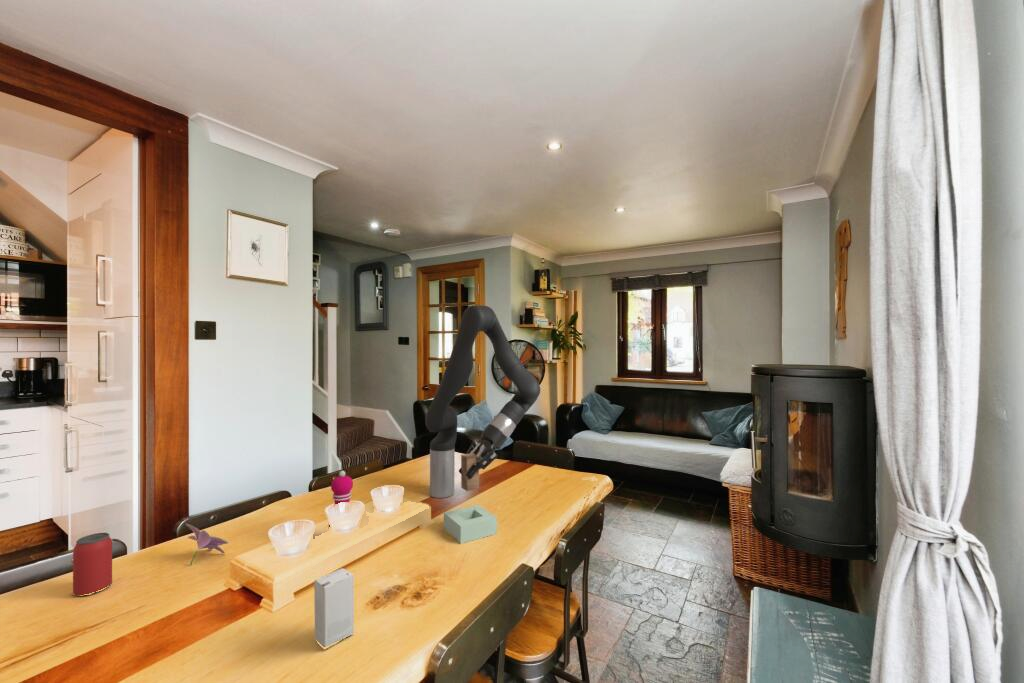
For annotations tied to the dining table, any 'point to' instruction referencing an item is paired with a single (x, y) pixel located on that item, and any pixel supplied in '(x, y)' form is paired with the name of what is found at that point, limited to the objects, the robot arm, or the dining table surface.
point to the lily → (205, 540)
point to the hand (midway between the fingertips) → (464, 475)
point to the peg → (466, 463)
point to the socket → (470, 523)
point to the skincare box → (334, 607)
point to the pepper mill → (342, 488)
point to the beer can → (92, 563)
